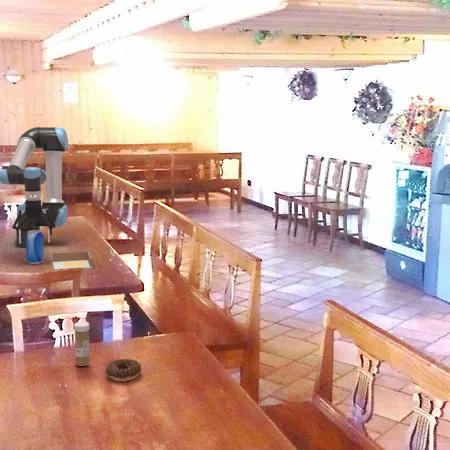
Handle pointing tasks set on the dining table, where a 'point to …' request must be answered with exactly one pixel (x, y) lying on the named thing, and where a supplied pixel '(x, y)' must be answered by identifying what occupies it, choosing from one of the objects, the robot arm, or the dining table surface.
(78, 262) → the tray
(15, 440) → the dining table surface
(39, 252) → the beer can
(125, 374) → the donut
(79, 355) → the sprinkles bottle
